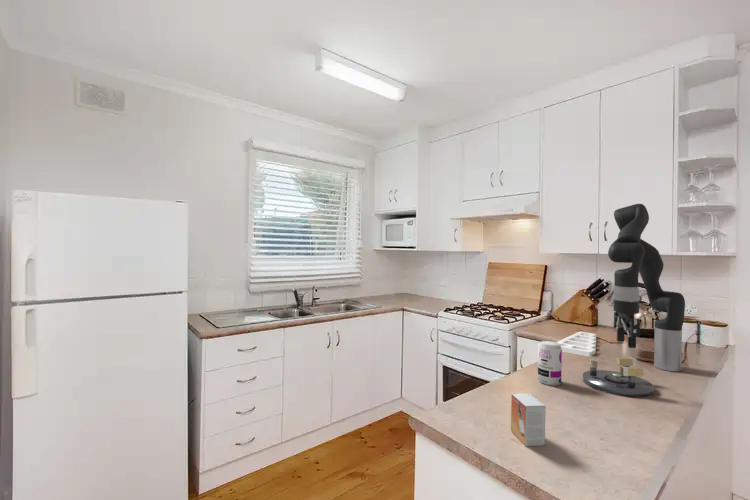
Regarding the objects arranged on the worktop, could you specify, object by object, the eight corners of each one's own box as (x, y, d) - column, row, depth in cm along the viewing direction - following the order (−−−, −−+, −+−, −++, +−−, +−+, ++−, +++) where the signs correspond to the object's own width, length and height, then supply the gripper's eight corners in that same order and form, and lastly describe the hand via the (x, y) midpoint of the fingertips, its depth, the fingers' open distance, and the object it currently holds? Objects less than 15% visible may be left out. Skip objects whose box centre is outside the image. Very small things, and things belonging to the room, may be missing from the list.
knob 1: (589, 372, 142) (589, 355, 142) (595, 373, 141) (596, 356, 141) (590, 377, 137) (590, 359, 137) (597, 378, 136) (597, 360, 136)
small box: (510, 431, 101) (510, 393, 101) (529, 430, 101) (530, 392, 101) (524, 446, 93) (525, 405, 93) (545, 445, 93) (546, 405, 93)
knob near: (619, 376, 139) (619, 358, 138) (615, 374, 141) (615, 357, 141) (636, 376, 139) (636, 359, 138) (632, 374, 141) (632, 357, 141)
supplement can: (560, 380, 140) (561, 341, 140) (561, 387, 133) (562, 347, 133) (537, 377, 144) (538, 339, 144) (537, 384, 136) (538, 344, 136)
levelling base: (600, 371, 151) (600, 361, 151) (663, 389, 132) (664, 378, 132) (571, 381, 139) (571, 371, 139) (636, 402, 120) (636, 390, 120)
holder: (579, 335, 216) (579, 331, 216) (614, 341, 203) (614, 337, 203) (550, 350, 185) (550, 344, 185) (590, 358, 172) (590, 352, 172)
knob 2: (639, 385, 129) (639, 367, 129) (643, 388, 127) (643, 369, 126) (620, 384, 130) (620, 366, 130) (623, 386, 128) (623, 368, 127)
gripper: (606, 296, 136) (606, 339, 136) (623, 301, 122) (623, 349, 122) (628, 296, 134) (628, 340, 134) (648, 302, 120) (648, 350, 121)
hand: (626, 344), depth 128 cm, fingers open, 8 cm apart
